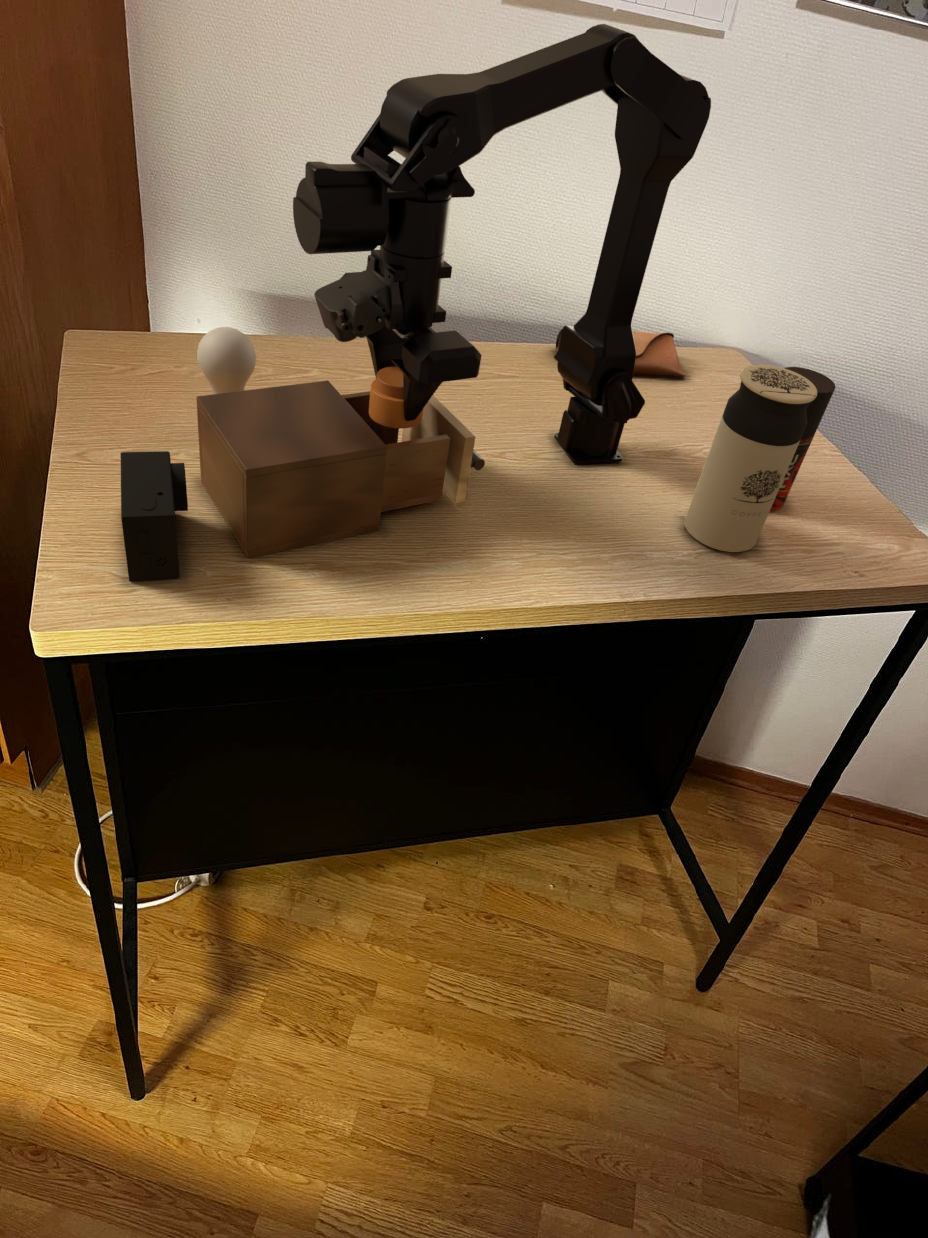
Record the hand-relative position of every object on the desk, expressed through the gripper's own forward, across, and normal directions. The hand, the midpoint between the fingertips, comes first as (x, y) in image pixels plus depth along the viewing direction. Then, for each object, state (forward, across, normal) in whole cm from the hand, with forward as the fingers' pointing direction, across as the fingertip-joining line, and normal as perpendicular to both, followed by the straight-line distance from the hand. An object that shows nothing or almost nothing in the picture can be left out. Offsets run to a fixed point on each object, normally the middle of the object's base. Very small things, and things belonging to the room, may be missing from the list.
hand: (396, 405), depth 90 cm
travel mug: (+10, +19, +31) cm, 38 cm away
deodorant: (+10, +15, +41) cm, 45 cm away
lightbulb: (+10, -17, -11) cm, 23 cm away
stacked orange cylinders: (+1, 0, 0) cm, 1 cm away
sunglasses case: (+10, -19, +46) cm, 51 cm away
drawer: (+9, 0, +2) cm, 9 cm away
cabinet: (+10, 0, -11) cm, 15 cm away
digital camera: (+10, +2, -25) cm, 27 cm away
